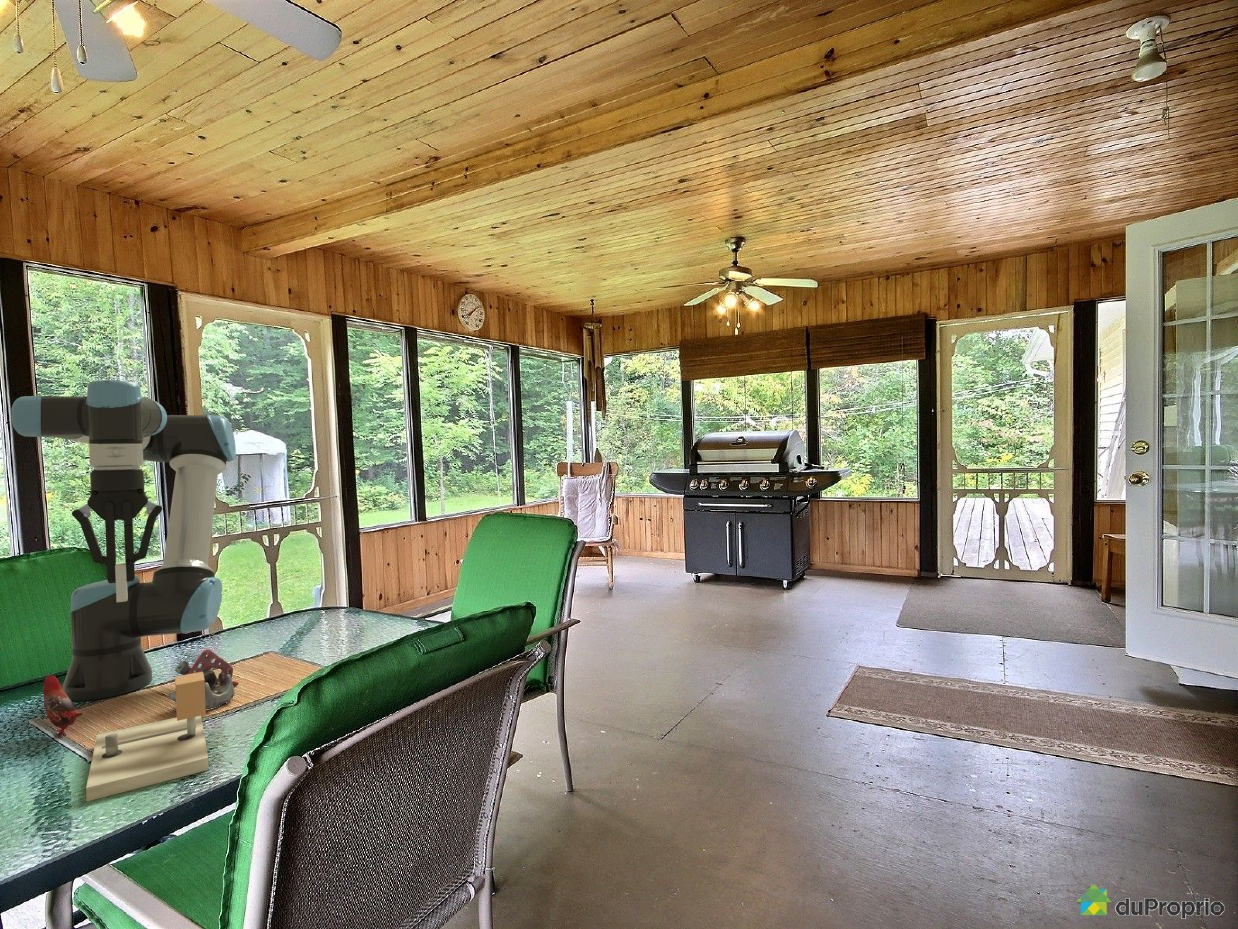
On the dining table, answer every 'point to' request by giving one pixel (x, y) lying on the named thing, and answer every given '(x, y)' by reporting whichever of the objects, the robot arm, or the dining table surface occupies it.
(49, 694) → the decorative bird figurine
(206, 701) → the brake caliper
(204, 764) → the wooden peg board
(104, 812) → the dining table surface
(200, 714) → the tan block on peg
